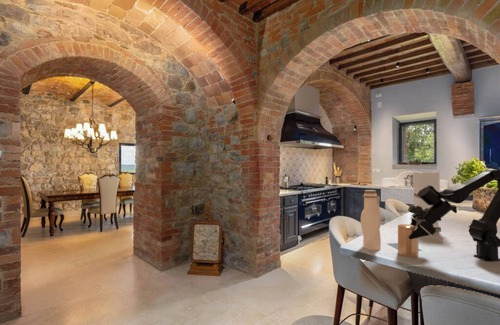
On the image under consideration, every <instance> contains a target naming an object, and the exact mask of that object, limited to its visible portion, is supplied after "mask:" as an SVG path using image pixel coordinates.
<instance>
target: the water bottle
mask: <svg viewBox="0 0 500 325" xmlns="http://www.w3.org/2000/svg"><path fill="white" fill-rule="evenodd" d="M380 196H381V195H378V194H377V190H376V189H375V190H374V189H365V190H364V193H363V195H361V197H362V198H363V209H362V211H361V214H360V226H361V231H362V238H363V239H362V241H363V243H362V244H363V246H362V248H364V249H365V250H367V251H380V250H381V249H382V242H381V240H382V239H381V231H380V230H381V229H380V228H381V224H382V212H381V208H380V198H381V197H380Z"/></svg>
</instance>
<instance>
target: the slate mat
mask: <svg viewBox="0 0 500 325" xmlns="http://www.w3.org/2000/svg"><path fill="white" fill-rule="evenodd" d="M387 245H388V246H389V247H392V248H395V249H396V250H398V242H395V243H394V242H393V243H392V242H391V243H387ZM420 251H421V252H422V251H423V250H422V249H420V248H418V252H420Z"/></svg>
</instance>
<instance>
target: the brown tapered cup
mask: <svg viewBox="0 0 500 325" xmlns="http://www.w3.org/2000/svg"><path fill="white" fill-rule="evenodd" d="M416 228H417V226H414V225H410V224H408V223H401V224H398V225H397V243H398V249H397V253H398V255H400V256H403V257H407V258H418V257H419V251H418V249H419V237H418V238H414V239H409V236H410V235H411V234H412V232H413V231H414V230H415V229H416Z"/></svg>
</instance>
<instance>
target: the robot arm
mask: <svg viewBox="0 0 500 325" xmlns="http://www.w3.org/2000/svg"><path fill="white" fill-rule="evenodd" d="M492 181H495V182H496V181H497V182H496V185H497V189H496V190H497V191H496V192H495V193H494V195H493V197H492V198H491V201H490V203H489V204H488V205H487V207H486V209H485V212H484V213H483V215H482V216H481V217H480V218H479V219H476V218H475V219H474V218H473V219H472V221H471V223H470V225H469V226H468V233H469V235H470V237H471V238H472V240H473V241H474V242H476V246H475V247H476V253H475V254H473V257H476V258H478V259H481V260H484V261H487V262H498V261H500V257H499V248H500V238H499V237H498V236H497V235H498V225H497V224H498V222H499V220H500V169H496V168H487V169H485V170H483V171H482V172H481V173H479V174H477V175H475V176H473V177H472V178H470V179H468V180H466V181H464V182H462V183H461V184H457V185H454V186H451V187H448V188H445V189H444V190H442V191H440V192H438V191H436V190H435V189H434V187H433V186H430V185H428V186H427V187H425V188H423V189H422V190H420V191H419V192H418V194H417V195H418V197H420V198H421V199H422V200H423V201H424V202H425V203H426V204H428V205H432V206H431V207H430V208H429V209H428V208H426V209H424V210H423V209H422V207H420V206H418V205H417V206H414V204H412V203H411V204H410V205H409V207H408V209H407V211H408V212H409V213H411V217H410V224H409V225H414V226H417V228H416V229H415V230H414V231H413V232H412V234H411V235H410V236H409V239H414V238H418V239H419V238H422V237H426V236H433V235H434V234H436V233H437V231H436V229H435V228H434V227H433V224H435V223H436V222H437V221H438V222H441V221H442V220H443V219H442V218H443V217H444V216H446V215H447V214H448V213H449V212H453V213H454V214H457V212H458V210H457V207H458V206H456V205H454V204H461V203H463V202H465V201H466V200H467V199H468V198H469V196H470V195H471V194H472V193H473V192H474V191H477V190H478V189H480V188H482V187H484V186H485V185H487V184H489V183H491V182H492ZM451 203H453V204H451Z"/></svg>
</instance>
